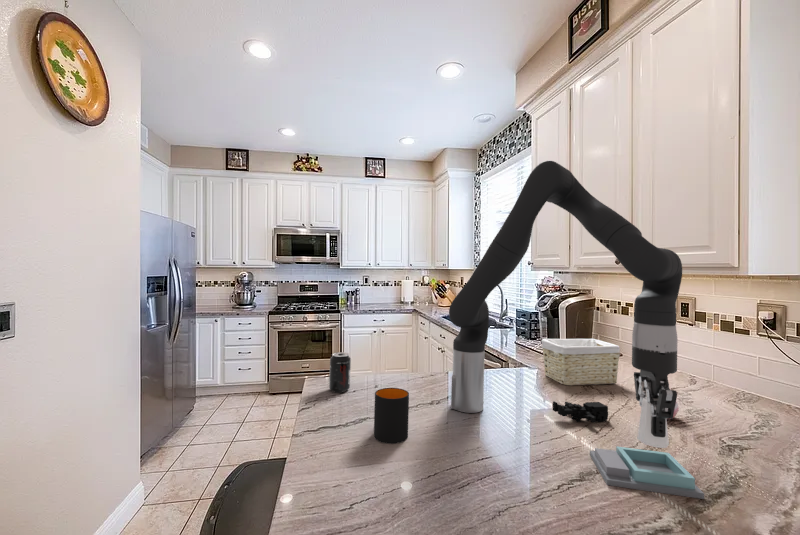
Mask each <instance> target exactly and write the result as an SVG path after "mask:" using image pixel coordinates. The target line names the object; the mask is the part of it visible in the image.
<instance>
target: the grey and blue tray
mask: <svg viewBox="0 0 800 535" xmlns="http://www.w3.org/2000/svg"><path fill="white" fill-rule="evenodd" d="M615 449H616V450H613V449H605V448H598V447H594V450H589V456H590V458H591V459H592V461H593V463H594V465H595V467H596V468H597V470H598V472H599V473H600V476H601V477H602V479H603V481H604V482H605V484H606V485H607V486H611V487H612V486H613V487H620V488H626V489H633V490H639V491H645V492H646V491H647V492H653V493H661V494H667V495H673V496H674V495H675V496H681V497H688V498H693V499H694V498H695V499H699V500H700V499H701V500H705V492H703V490H701V489H700V488H699V487H698V485H696V478H695V477H694V475H692V474H691V473H690V472H689V471H688V470H687V469H686V468H685V467H683V465H682V464H681V463H679V462H678V460H677V459H675V457H674V456H673V455H671V454H670V452H665V451H657V450H647V449H640V448H633V447H632V448H631V447H624V446H615Z"/></svg>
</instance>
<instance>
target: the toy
mask: <svg viewBox="0 0 800 535" xmlns="http://www.w3.org/2000/svg"><path fill="white" fill-rule="evenodd" d="M552 411H553V412H555V413H557V414H558V415H560V416H561V417H568V415H569V416H571V419H572V420H575V422H576V423H581V422H582V419H586V421H587V422H591V423H593V424H594V423H604V422H606V420H609V419H608V418H609V406H608V405H606V404H604V403H602V402H599V401H588V402H583V403H582V405H581V404H577V403H572V402H569V401H564V404H563V405H561V404H558V402H557V401H554V400H553V401H552Z"/></svg>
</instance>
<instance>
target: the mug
mask: <svg viewBox="0 0 800 535" xmlns="http://www.w3.org/2000/svg"><path fill="white" fill-rule="evenodd" d="M409 407H410V392H408V391H407V390H405V389H402V388H398V387H384V388H383V387H382V388H380V389H378V390H376V391H375V392H374V411H373V412H374V416H373V417H374V418H373V421H374V422H373V437H374V439H375V440H376V441H378V442H379V443H383V444H389V445H391V444H392V445H393V444H400V443H403V442H405V441H406V440H407V439H408V437H409V409H410V408H409Z"/></svg>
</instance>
